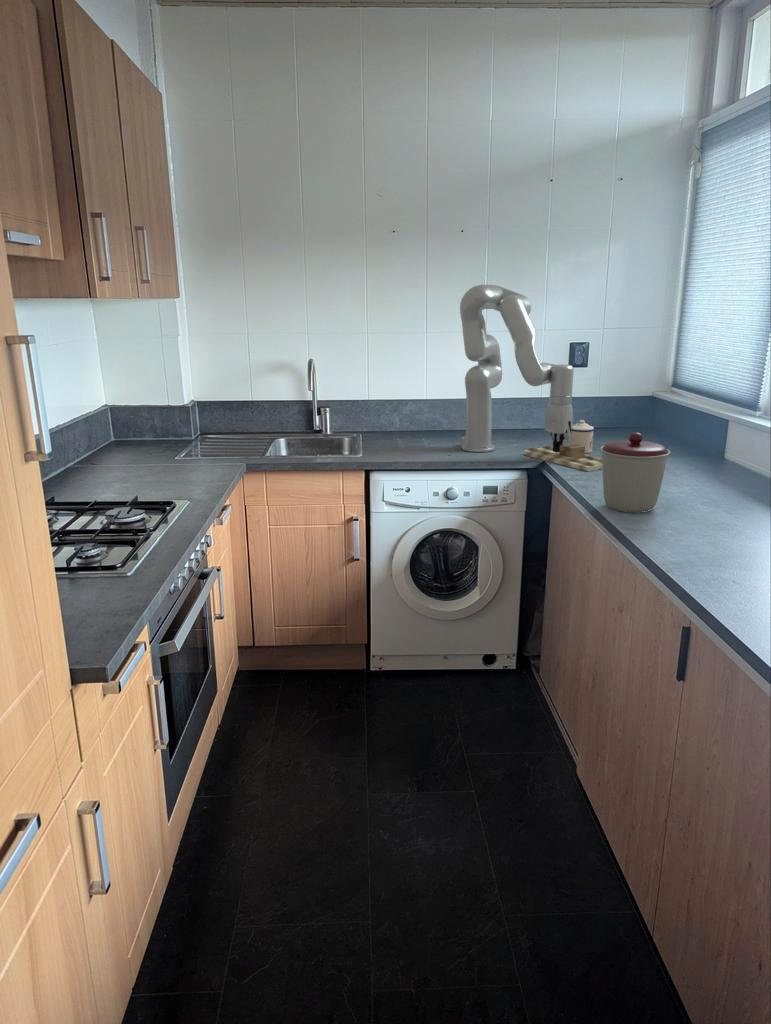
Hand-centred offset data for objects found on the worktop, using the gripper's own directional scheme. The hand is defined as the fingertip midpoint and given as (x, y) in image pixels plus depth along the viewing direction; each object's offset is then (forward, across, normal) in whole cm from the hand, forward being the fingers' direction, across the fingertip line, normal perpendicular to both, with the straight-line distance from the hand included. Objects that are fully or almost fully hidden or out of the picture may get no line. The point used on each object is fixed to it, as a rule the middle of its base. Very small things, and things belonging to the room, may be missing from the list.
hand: (557, 451), depth 262 cm
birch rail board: (+2, +5, 0) cm, 5 cm away
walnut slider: (+1, +7, 0) cm, 7 cm away
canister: (+3, +58, -27) cm, 64 cm away
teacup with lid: (+3, -5, +16) cm, 17 cm away
